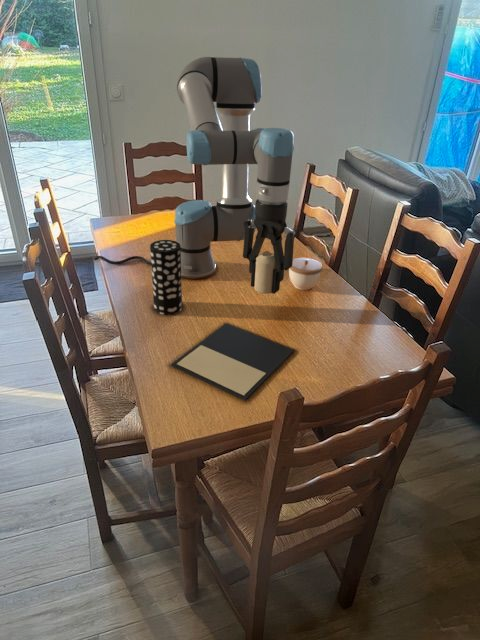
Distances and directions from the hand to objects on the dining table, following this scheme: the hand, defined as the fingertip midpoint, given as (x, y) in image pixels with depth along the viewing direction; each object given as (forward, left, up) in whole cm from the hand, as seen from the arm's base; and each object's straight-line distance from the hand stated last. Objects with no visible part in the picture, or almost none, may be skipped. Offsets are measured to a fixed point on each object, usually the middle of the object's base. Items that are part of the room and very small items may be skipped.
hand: (264, 287), depth 121 cm
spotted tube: (-30, -4, -15) cm, 34 cm away
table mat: (0, -13, -15) cm, 20 cm away
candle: (0, 0, -1) cm, 1 cm away
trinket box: (-4, +34, -15) cm, 37 cm away
